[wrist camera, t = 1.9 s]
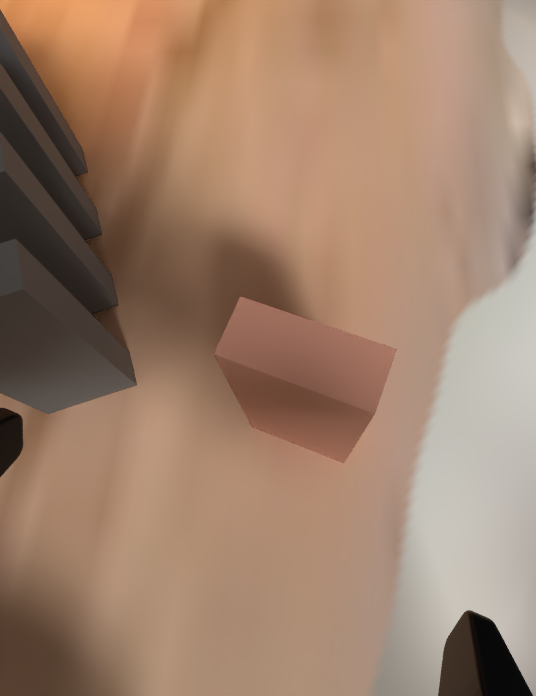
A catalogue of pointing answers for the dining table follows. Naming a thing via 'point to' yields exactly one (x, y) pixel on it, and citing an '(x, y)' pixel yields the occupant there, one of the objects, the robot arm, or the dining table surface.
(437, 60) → the dining table surface
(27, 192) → the domino
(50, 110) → the domino
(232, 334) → the loose domino
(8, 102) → the domino
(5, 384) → the domino
